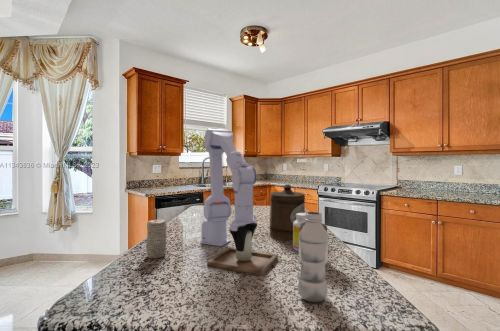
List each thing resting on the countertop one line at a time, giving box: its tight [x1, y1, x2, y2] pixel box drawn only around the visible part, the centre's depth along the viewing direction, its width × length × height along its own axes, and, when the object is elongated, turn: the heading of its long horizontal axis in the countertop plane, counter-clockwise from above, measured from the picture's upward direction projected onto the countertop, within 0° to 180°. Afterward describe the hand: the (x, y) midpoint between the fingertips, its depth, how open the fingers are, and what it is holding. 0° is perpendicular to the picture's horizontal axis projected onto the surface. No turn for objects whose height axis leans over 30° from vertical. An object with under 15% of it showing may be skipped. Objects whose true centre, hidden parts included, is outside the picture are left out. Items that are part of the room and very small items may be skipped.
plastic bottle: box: [297, 211, 329, 303], centre depth 61 cm, size 6×7×20 cm
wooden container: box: [269, 184, 306, 241], centre depth 113 cm, size 15×15×22 cm
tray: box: [206, 246, 279, 278], centre depth 83 cm, size 18×14×2 cm
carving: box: [145, 218, 168, 260], centre depth 88 cm, size 6×8×12 cm
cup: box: [236, 231, 253, 261], centre depth 83 cm, size 5×5×8 cm
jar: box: [298, 222, 329, 266], centre depth 83 cm, size 9×8×12 cm
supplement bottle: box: [292, 212, 306, 252], centre depth 96 cm, size 7×7×13 cm
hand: (243, 248), depth 83 cm, fingers closed on cup, 5 cm apart
